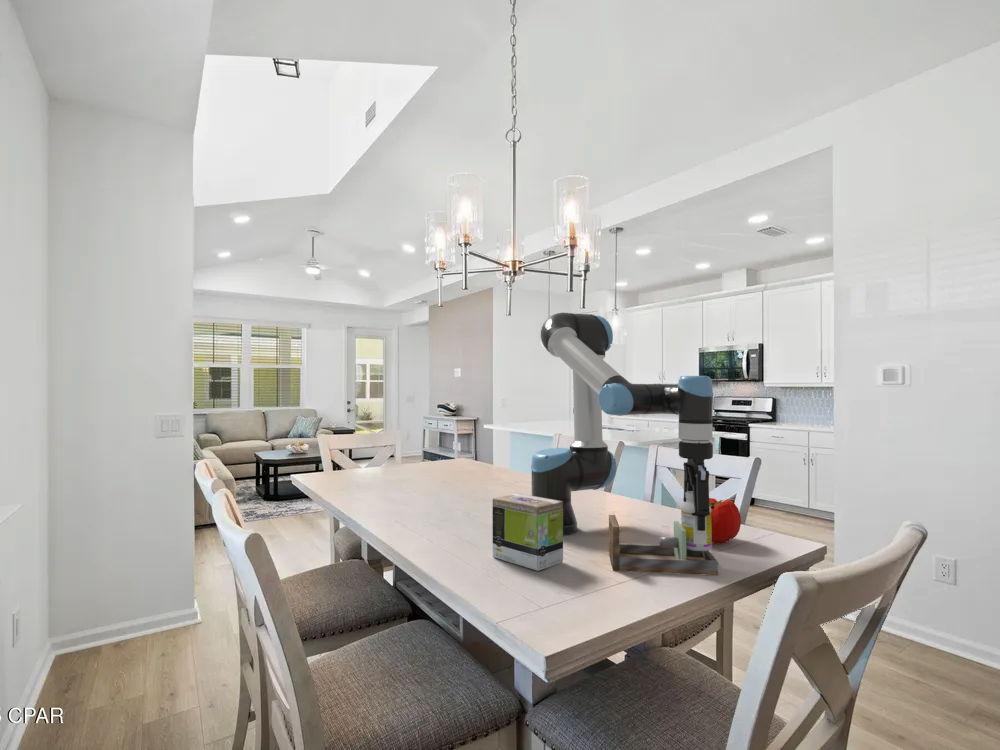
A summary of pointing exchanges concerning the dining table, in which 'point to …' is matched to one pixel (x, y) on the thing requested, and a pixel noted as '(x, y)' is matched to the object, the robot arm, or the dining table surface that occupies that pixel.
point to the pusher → (676, 541)
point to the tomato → (724, 520)
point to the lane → (656, 557)
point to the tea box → (528, 530)
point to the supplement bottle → (687, 524)
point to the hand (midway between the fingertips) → (696, 539)
